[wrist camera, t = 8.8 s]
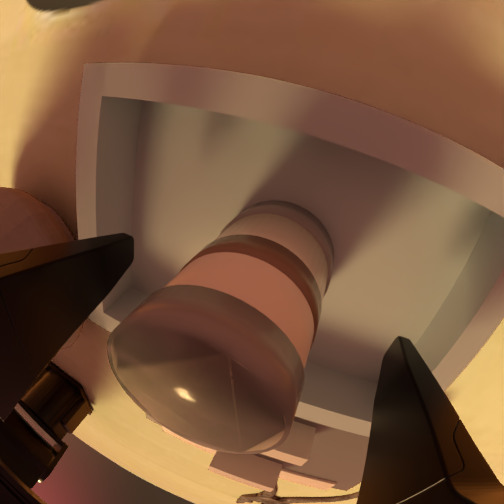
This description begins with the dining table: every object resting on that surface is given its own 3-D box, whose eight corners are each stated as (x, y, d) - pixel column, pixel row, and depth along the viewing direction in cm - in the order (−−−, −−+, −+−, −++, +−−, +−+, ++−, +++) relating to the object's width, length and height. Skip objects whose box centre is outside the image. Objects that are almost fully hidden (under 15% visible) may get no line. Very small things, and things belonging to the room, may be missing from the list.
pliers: (392, 483, 17) (302, 522, 27) (392, 474, 18) (304, 517, 28) (285, 458, 19) (234, 502, 29) (288, 449, 20) (236, 497, 30)
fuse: (218, 279, 13) (118, 401, 7) (238, 185, 11) (97, 283, 5) (312, 315, 12) (260, 470, 6) (350, 223, 10) (326, 384, 4)
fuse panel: (159, 401, 21) (133, 438, 18) (157, 320, 17) (116, 366, 13) (348, 470, 18) (339, 513, 15) (418, 413, 14) (418, 472, 10)
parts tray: (122, 290, 16) (89, 319, 14) (135, 65, 10) (84, 63, 8) (392, 395, 14) (390, 441, 11) (520, 183, 8) (560, 208, 5)
